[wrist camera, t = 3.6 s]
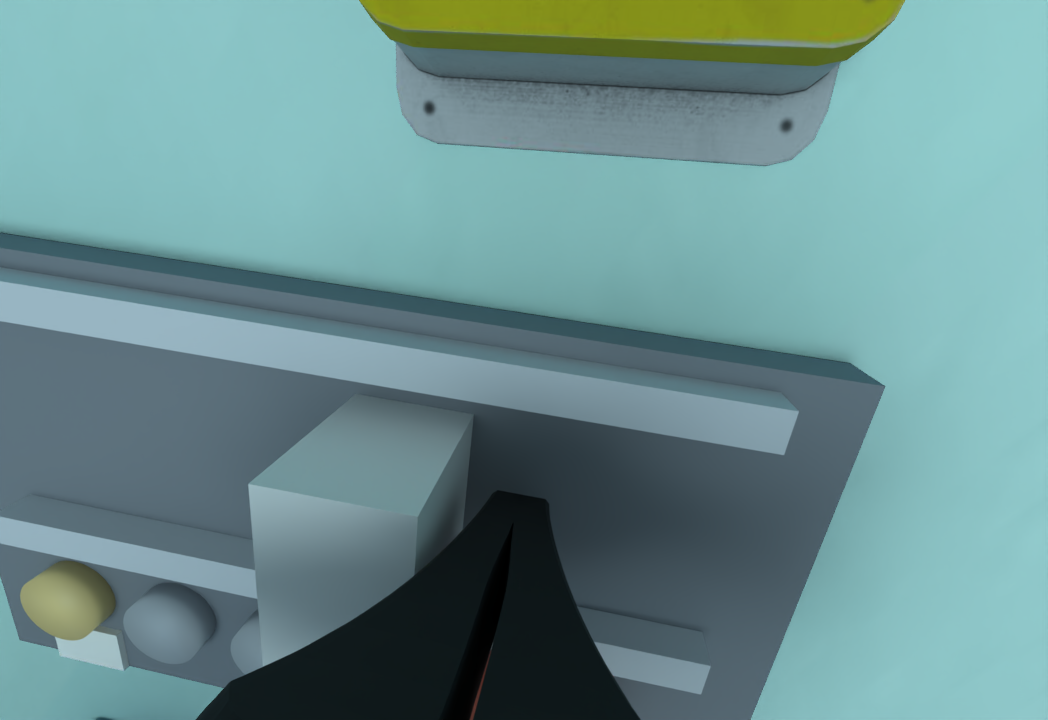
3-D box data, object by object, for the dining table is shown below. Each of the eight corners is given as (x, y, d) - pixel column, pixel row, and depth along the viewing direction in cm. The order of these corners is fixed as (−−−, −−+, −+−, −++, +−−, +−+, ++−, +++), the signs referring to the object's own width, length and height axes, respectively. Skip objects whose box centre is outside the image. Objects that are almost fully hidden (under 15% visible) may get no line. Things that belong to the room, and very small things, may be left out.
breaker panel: (705, 751, 16) (724, 844, 14) (63, 606, 18) (-14, 666, 16) (850, 363, 12) (914, 405, 9) (-33, 227, 14) (-163, 234, 11)
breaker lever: (459, 559, 13) (406, 703, 9) (354, 537, 13) (263, 669, 10) (473, 414, 12) (418, 516, 8) (355, 393, 12) (248, 483, 8)
